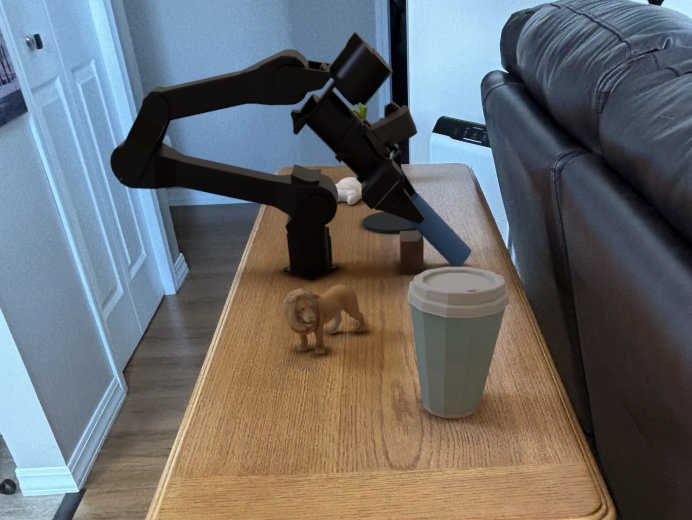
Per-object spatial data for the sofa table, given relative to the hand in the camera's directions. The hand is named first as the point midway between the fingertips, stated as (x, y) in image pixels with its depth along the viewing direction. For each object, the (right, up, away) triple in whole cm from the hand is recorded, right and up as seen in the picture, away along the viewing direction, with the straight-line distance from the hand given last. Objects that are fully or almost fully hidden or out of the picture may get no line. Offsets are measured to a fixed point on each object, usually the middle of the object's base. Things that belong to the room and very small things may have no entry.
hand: (420, 211), depth 112 cm
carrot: (-11, +25, +44) cm, 52 cm away
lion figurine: (-12, -24, -15) cm, 31 cm away
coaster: (-4, +8, +23) cm, 24 cm away
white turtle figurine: (-14, +19, +36) cm, 43 cm away
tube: (+2, -2, +2) cm, 4 cm away
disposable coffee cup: (+3, -34, -27) cm, 44 cm away
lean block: (-1, -7, +5) cm, 9 cm away
